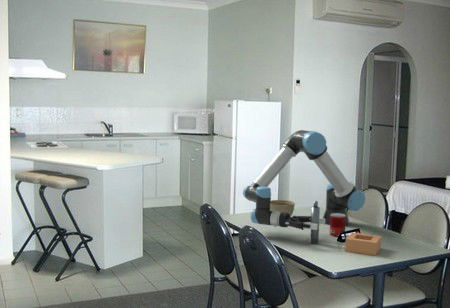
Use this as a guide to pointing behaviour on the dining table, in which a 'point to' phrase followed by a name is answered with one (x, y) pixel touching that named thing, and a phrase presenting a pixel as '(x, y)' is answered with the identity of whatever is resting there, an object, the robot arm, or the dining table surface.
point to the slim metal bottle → (315, 220)
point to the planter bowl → (282, 206)
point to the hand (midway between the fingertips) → (321, 224)
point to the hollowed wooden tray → (363, 243)
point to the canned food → (337, 223)
